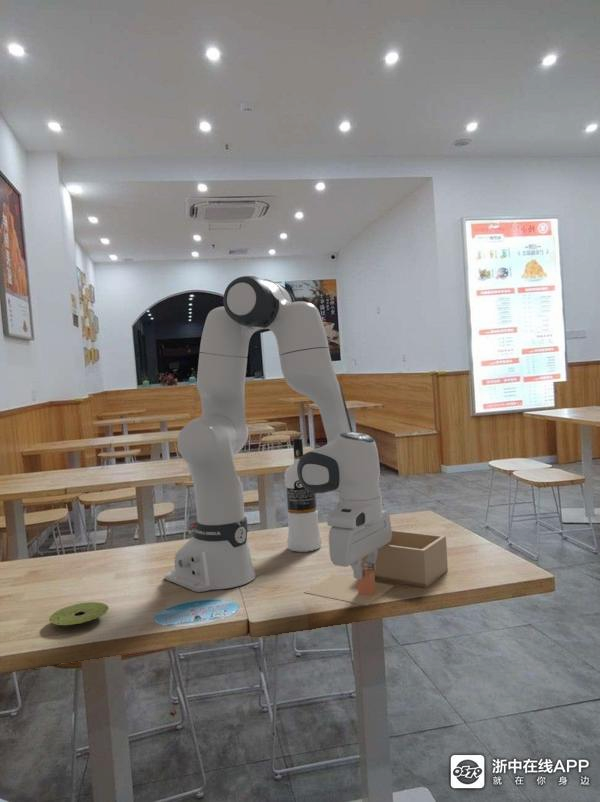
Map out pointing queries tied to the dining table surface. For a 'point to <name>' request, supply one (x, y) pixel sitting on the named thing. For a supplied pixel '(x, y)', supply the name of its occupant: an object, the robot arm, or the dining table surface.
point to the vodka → (300, 509)
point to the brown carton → (411, 559)
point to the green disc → (78, 613)
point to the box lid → (351, 588)
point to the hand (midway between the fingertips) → (365, 574)
